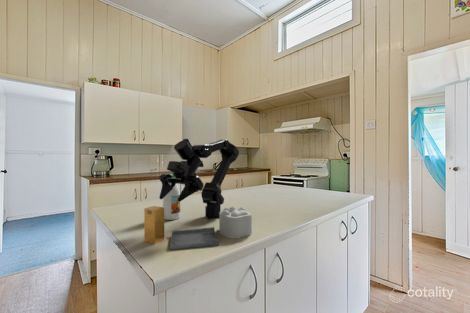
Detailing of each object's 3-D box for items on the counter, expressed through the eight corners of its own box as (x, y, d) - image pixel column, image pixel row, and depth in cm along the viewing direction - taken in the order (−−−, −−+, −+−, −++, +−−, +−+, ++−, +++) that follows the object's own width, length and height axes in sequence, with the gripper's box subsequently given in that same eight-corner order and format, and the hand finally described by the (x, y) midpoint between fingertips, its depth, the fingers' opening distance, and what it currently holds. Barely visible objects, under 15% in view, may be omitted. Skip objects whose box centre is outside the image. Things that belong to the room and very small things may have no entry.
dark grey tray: (214, 232, 82) (214, 227, 82) (218, 245, 70) (218, 239, 70) (172, 236, 78) (172, 230, 78) (169, 250, 67) (169, 243, 67)
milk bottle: (164, 221, 96) (164, 175, 96) (161, 217, 103) (161, 174, 103) (182, 219, 100) (181, 174, 100) (178, 215, 107) (178, 173, 107)
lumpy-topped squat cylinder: (231, 240, 75) (231, 214, 75) (213, 229, 86) (213, 207, 86) (255, 233, 81) (255, 210, 81) (235, 224, 91) (235, 203, 91)
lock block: (154, 237, 77) (154, 205, 77) (164, 240, 75) (164, 207, 75) (144, 241, 74) (144, 208, 74) (154, 244, 71) (154, 210, 71)
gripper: (162, 154, 89) (138, 184, 80) (198, 153, 80) (176, 187, 70) (176, 172, 96) (156, 202, 87) (211, 173, 87) (193, 207, 77)
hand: (169, 199), depth 80 cm, fingers open, 9 cm apart
